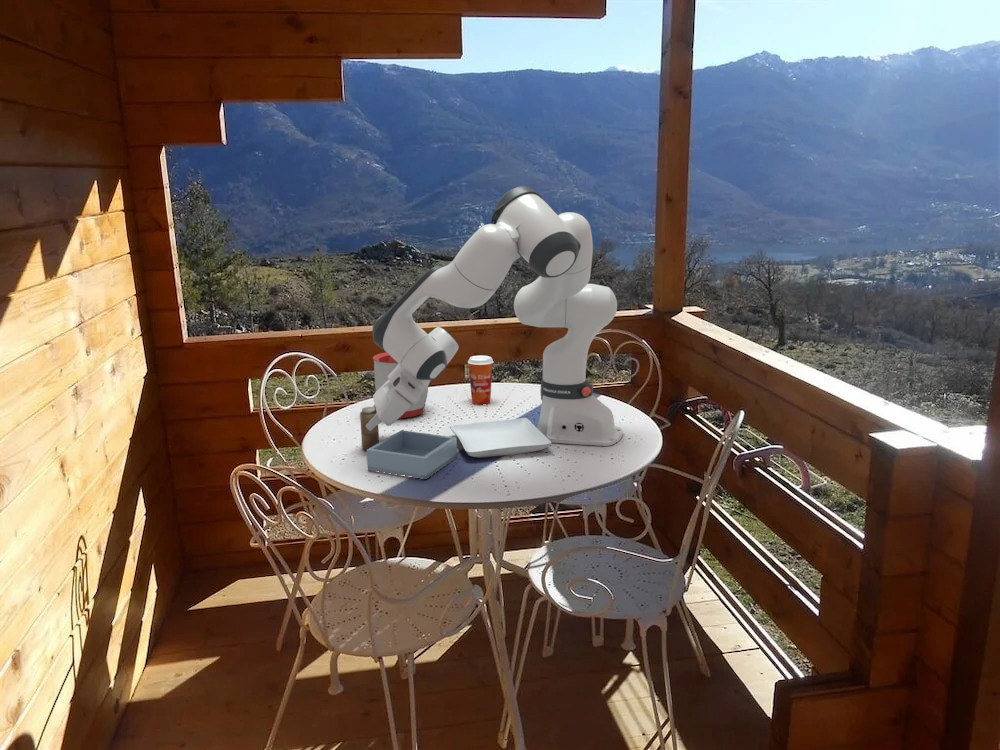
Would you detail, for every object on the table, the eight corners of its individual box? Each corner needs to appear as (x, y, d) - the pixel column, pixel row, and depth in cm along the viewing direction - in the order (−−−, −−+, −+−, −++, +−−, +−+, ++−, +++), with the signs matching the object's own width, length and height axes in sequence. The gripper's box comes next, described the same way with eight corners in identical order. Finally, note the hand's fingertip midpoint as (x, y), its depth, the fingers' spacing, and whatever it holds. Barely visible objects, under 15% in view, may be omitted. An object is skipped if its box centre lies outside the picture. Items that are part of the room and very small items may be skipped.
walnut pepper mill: (382, 445, 169) (380, 407, 166) (373, 451, 165) (371, 412, 163) (368, 443, 170) (366, 405, 168) (358, 449, 167) (356, 410, 164)
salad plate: (467, 464, 158) (467, 450, 157) (449, 436, 178) (448, 424, 177) (553, 455, 163) (553, 442, 162) (526, 429, 183) (526, 417, 182)
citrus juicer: (445, 413, 197) (443, 345, 192) (393, 425, 186) (390, 353, 182) (416, 401, 209) (413, 337, 204) (365, 412, 198) (361, 345, 193)
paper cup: (467, 406, 204) (466, 360, 201) (469, 399, 211) (468, 355, 208) (493, 406, 204) (493, 360, 200) (494, 399, 211) (494, 355, 208)
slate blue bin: (456, 457, 161) (456, 437, 160) (426, 480, 148) (425, 458, 147) (402, 449, 167) (401, 430, 166) (367, 470, 154) (366, 449, 152)
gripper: (392, 365, 175) (355, 405, 175) (400, 385, 155) (358, 429, 156) (410, 381, 177) (374, 420, 177) (420, 402, 158) (379, 446, 158)
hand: (367, 424), depth 166 cm, fingers closed on walnut pepper mill, 4 cm apart
